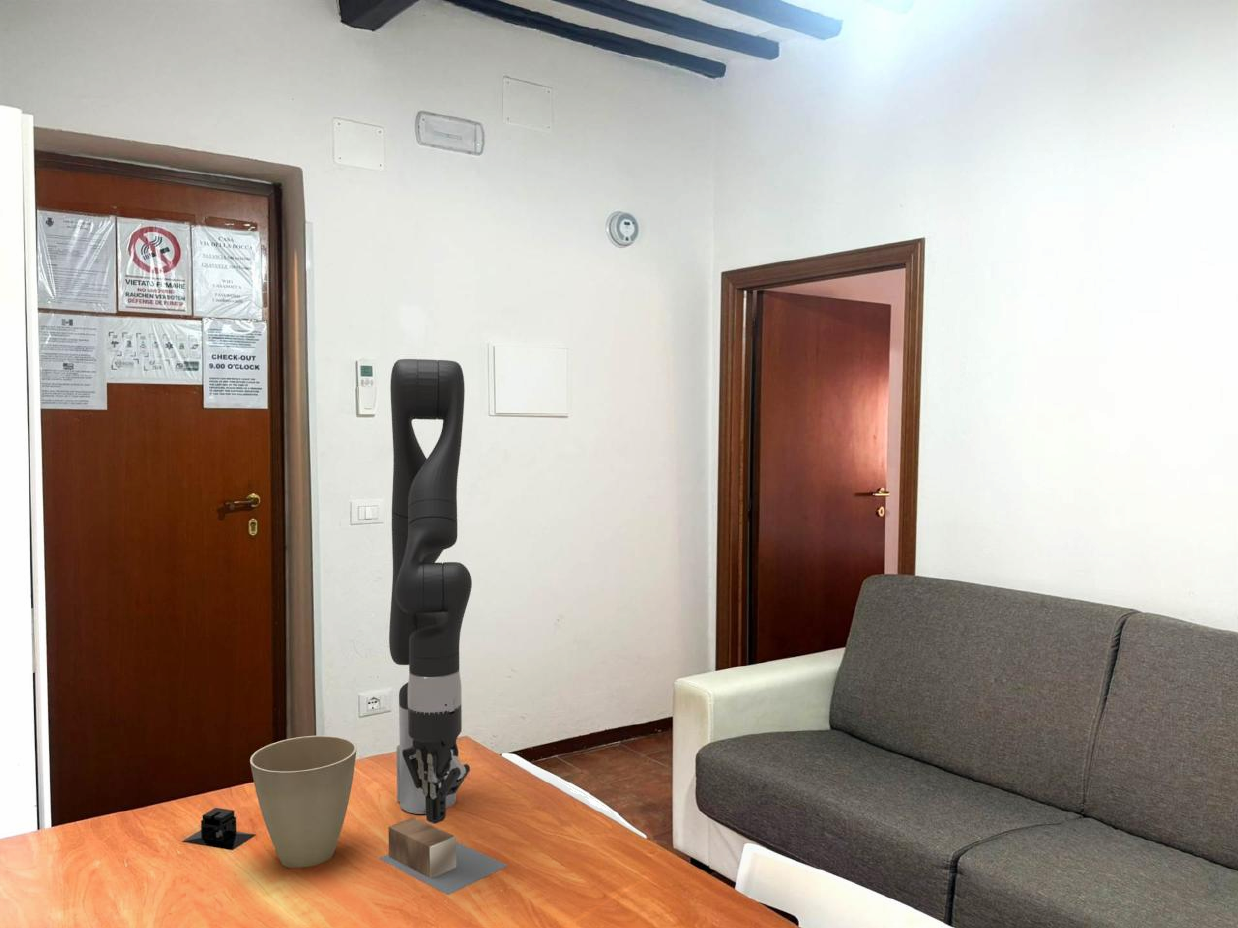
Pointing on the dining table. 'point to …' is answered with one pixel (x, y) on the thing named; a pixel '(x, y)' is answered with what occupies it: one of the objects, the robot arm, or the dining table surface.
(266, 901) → the dining table surface
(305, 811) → the plant pot
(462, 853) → the rubber mat
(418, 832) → the walnut block
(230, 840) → the slotted block on plate
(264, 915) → the dining table surface
